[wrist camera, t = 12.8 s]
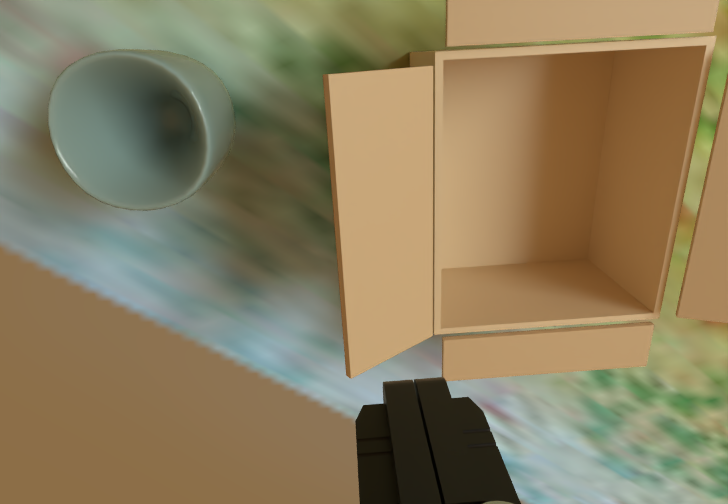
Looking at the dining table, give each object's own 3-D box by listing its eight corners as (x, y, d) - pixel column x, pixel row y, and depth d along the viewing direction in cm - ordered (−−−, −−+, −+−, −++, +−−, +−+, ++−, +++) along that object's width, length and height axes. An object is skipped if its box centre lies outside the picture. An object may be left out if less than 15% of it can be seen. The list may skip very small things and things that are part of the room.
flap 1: (433, 65, 23) (426, 65, 23) (328, 74, 20) (322, 74, 20) (432, 335, 29) (427, 333, 29) (350, 378, 25) (346, 375, 26)
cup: (252, 167, 34) (222, 209, 25) (140, 172, 34) (68, 216, 25) (239, 48, 31) (198, 45, 22) (115, 52, 31) (23, 51, 22)
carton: (408, -3, 31) (437, -25, 22) (627, -14, 31) (740, -41, 23) (413, 309, 39) (435, 382, 31) (585, 297, 40) (655, 365, 31)
